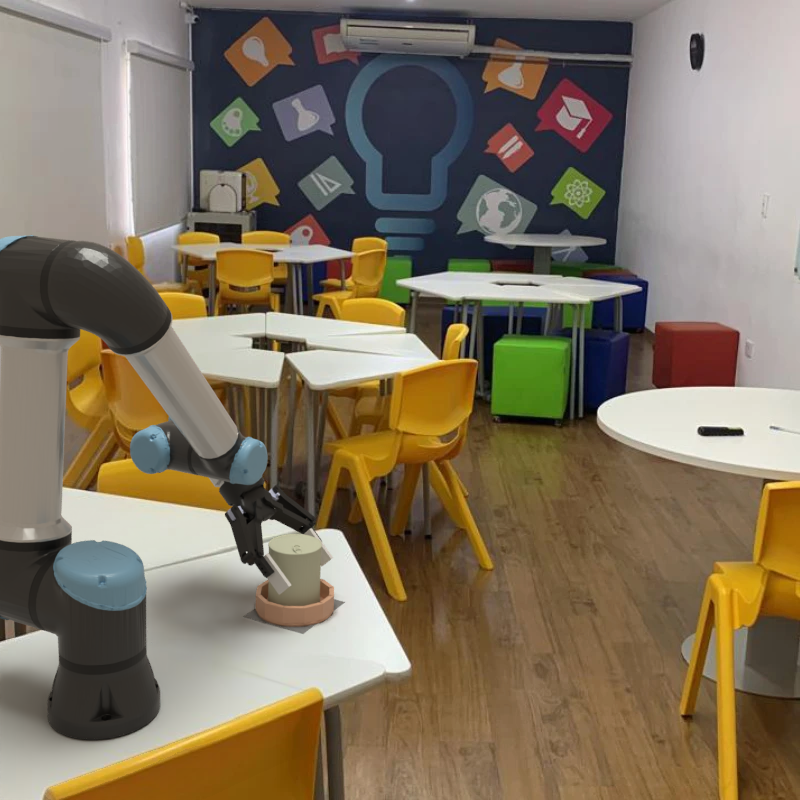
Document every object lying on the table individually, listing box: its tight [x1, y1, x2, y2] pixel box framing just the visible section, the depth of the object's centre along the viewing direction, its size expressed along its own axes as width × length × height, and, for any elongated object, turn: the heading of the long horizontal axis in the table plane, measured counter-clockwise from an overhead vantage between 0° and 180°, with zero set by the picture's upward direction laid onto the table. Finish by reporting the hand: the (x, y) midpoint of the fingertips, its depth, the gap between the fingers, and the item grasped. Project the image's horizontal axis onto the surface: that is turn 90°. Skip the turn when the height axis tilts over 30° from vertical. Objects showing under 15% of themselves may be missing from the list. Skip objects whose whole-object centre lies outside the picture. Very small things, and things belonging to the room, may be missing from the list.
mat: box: [242, 598, 346, 635], centre depth 169 cm, size 14×12×1 cm
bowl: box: [255, 578, 335, 627], centre depth 169 cm, size 13×13×3 cm
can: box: [267, 533, 323, 606], centre depth 168 cm, size 9×9×12 cm
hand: (307, 575), depth 167 cm, fingers open, 13 cm apart
